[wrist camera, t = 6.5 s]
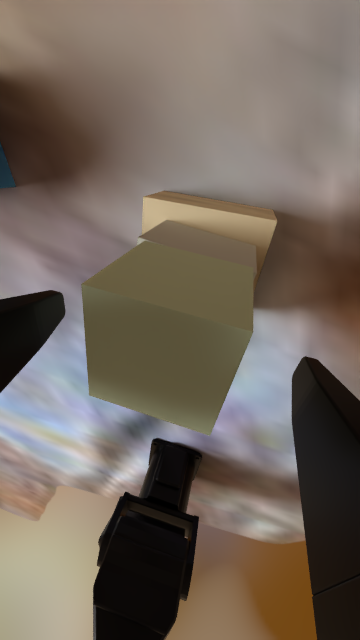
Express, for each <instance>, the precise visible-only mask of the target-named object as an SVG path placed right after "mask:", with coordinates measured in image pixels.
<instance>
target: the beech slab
mask: <svg viewBox="0 0 360 640" xmlns="http://www.w3.org/2000/svg"><path fill="white" fill-rule="evenodd" d="M165 220H169V221H173V222H176V223H179V224H183V225H186V226H190V227H193V228H197V229H200V230H204V231H207V232H210V233H214V234H217V235H221V236H224V237H228V238H231V239H234V240H238V241H241V242H245V243H248V244H252V245H255V246H256V262H257V274H256V276H255V279H254V281H253V293H254V290H255V287H256V284H257V281H258V278H259V275H260V272H261V269H262V266H263V263H264V260H265V257H266V254H267V251H268V248H269V245H270V242H271V239H272V236H273V233H274V230H275V227H276V224H277V219H276V217H275V214H274V212H273V210H271V209H265V208H259V207H254V206H248V205H242V204H236V203H231V202H225V201H219V200H213V199H208V198H202V197H196V196H190V195H185V194H179V193H173V192H168V191H162V192H158V193H155V194H151V195H148V196H144V197H143V220H142V235H143V234H144V233H146V232H147V231H149V230H151V229H152V228H154V227H155V226H157V225H159V224H160V223H162V222H163V221H165Z"/></svg>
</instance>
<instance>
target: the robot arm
mask: <svg viewBox="0 0 360 640" xmlns="http://www.w3.org/2000/svg"><path fill="white" fill-rule="evenodd" d="M64 315H65V305H64V298H63V295H62V293H60V292H57V291H53V290H48V291H43V292H38V293H32V294H27V295H22V296H16V297H11V298H6V299H0V393H1V392H2V391H3V389H4V388H5V387H6V386H7V385H8V384H9V383H10V382H11V381H12V380H13V378H14V377H15V376H16V375H17V374H18V373H19V372H20V371H21V370H22V368H23V367H24V366H25V365H26V364H27V363H28V362H29V361H30V360H31V358H32V357H33V356H34V355H35V354H36V353H37V352H38V351H39V350H40V348H41V347H42V346H43V345H44V343H45V342H46V341H47V339H48V338H49V337H50V335H51V334H52V333H53V331H54V330H55V328H56V327H57V326H58V324H59V323H60V322H61V320H62V319H63V317H64ZM292 427H293V436H294V444H295V453H296V461H297V470H298V478H299V487H300V495H301V504H302V512H303V521H304V529H305V538H306V546H307V555H308V564H309V572H310V580H311V589H312V594H313V597H312V599H313V608H314V617H315V625H316V634H317V640H360V401H359V400H358V399H357V398H356V397H355V396H354V395H353V394H352V393H351V392H350V391H349V390H348V389H347V388H346V387H345V386H344V385H343V384H342V383H341V382H340V381H339V380H338V379H337V378H336V377H335V376H334V375H333V374H332V373H331V372H330V371H329V370H328V369H327V368H326V367H324V366H323V365H322V364H321V363H320V362H319V361H318V360H317V359H314V358H310V357H306V356H305V357H303V358H302V359H301V361H300V363H299V364H298V366H297V368H296V370H295V371H294V373H293V376H292ZM201 459H202V455H201V454H200V453H197V452H194V451H191V450H188V449H185V448H182V447H179V446H176V445H173V444H170V443H167V442H164V441H160V440H157V439H153V440H152V444H151V451H150V458H149V468H148V471H147V474H146V477H145V480H144V482H143V485H142V488H141V491H140V494H139V497H137V496H134V495H131V494H130V493H128V492H125V493H124V496H121V497H120V498H119V501H118V503H117V506H116V509H115V511H114V513H113V515H112V517H111V518H110V520H109V522H108V524H107V525H106V527H105V529H104V531H103V532H102V534H101V536H100V538H99V542H98V543H99V547H100V551H99V556H98V561H97V566H99V567H100V569H99V572H98V574H97V577H96V580H95V583H94V587H93V632H94V633H93V640H165V639H166V637H167V636H168V634H169V632H170V631H171V629H172V627H173V625H174V623H175V621H176V617H177V612H178V607H179V600H180V599H182V600H184V601H186V600H187V596H188V592H189V587H190V582H191V576H192V570H193V563H194V562H193V561H194V555H195V546H196V537H197V529H198V521H199V517H198V516H195V515H194V516H192V515H189V514H186V511H187V505H188V500H189V495H190V490H191V484H192V481H193V480H194V478H195V475H196V473H197V470H198V467H199V465H200V462H201ZM185 536H186V537H188V538H184V537H185Z"/></svg>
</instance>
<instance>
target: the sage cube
mask: <svg viewBox="0 0 360 640" xmlns="http://www.w3.org/2000/svg"><path fill="white" fill-rule="evenodd" d="M81 285H82V299H83V313H84V327H85V342H86V356H87V370H88V384H89V395H90V396H93V397H96V398H99V399H102V400H105V401H108V402H111V403H114V404H117V405H120V406H123V407H126V408H129V409H132V410H135V411H138V412H141V413H144V414H147V415H150V416H153V417H156V418H159V419H162V420H165V421H167V422H170V423H173V424H176V425H179V426H182V427H185V428H188V429H191V430H194V431H197V432H200V433H203V434H206V435H209V436H210V434H211V432H212V429H213V427H214V424H215V422H216V420H217V417H218V415H219V413H220V410H221V408H222V405H223V403H224V401H225V398H226V396H227V393H228V391H229V389H230V386H231V384H232V381H233V379H234V377H235V374H236V372H237V369H238V367H239V365H240V362H241V360H242V357H243V355H244V353H245V350H246V348H247V345H248V343H249V341H250V338H251V336H252V334H253V267H249V266H245V265H241V264H237V263H233V262H229V261H225V260H221V259H217V258H213V257H209V256H205V255H201V254H197V253H193V252H189V251H185V250H181V249H177V248H173V247H168V246H164V245H160V244H156V243H152V242H148V241H143V242H142V243H140V244H139V245H137V246H136V247H135V248H133V249H132V250H130V251H129V252H127V253H126V254H124V255H123V256H122V257H120V258H119V259H117V260H116V261H114V262H113V263H111V264H110V265H108V266H107V267H106V268H104V269H103V270H101V271H100V272H98V273H97V274H95V275H94V276H92V277H91V278H90V279H88V280H87V281H85V282H84V283H82V284H81Z"/></svg>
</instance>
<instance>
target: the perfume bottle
mask: <svg viewBox="0 0 360 640" xmlns="http://www.w3.org/2000/svg"><path fill="white" fill-rule="evenodd" d="M9 187H16V185H15V182H14V180H13V177H12V174H11V171H10V168H9V165H8V162H7V160H6V157H5V154H4V151H3V148H2V145H1V142H0V188H9Z"/></svg>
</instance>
